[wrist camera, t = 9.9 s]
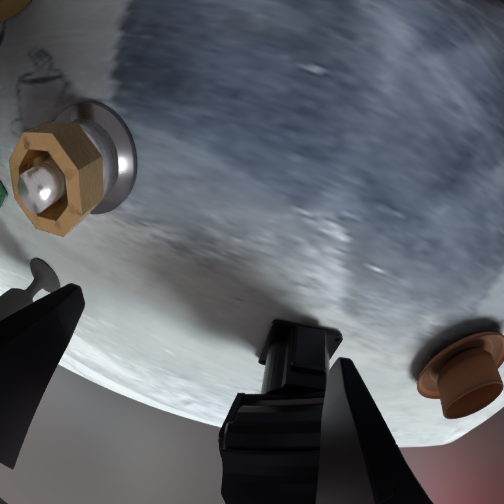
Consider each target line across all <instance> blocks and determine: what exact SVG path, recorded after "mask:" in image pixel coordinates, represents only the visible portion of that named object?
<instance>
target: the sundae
mask: <svg viewBox="0 0 504 504" xmlns="http://www.w3.org/2000/svg"><path fill="white" fill-rule="evenodd" d="M30 268H31V272H32V274H33V277H34V280H33V282H32V283H31V285H30V286H29V287H28V288H27V289H26V290H22V289H18V288H11V289H10V290H8V291H7V292H5V293H4V294H3V295H1V296H0V320H2V319H4V318H5V317H7V316H9V315H11V314H13V313H14V312H16V311H18V310H20V309H22V308H24V307H25V306H27V305H29V304H31V303H33V297H34V296H35V294H36V293H37V292H38V291H39V290H41V289H42V288H43V289H44V290H46V291H48V292H50V293H52V292H54V291H56V290H58V289H59V288H60V283H59V280H58V278H57V276H56V274H55V272H54V271H53V270H52V269H51V267H50V266H49V265H48V264H46V263H45V262H44V261H42V260H39V259H33V260H32V261H31V264H30Z"/></svg>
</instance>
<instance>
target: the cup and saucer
mask: <svg viewBox="0 0 504 504" xmlns="http://www.w3.org/2000/svg"><path fill="white" fill-rule="evenodd" d="M503 362H504V335H502V334H500V333H497V332H480V333H476V334H472V335H469V336H467V337H464V338H462V339H460V340H458V341H456V342H454V343H452V344H451V345H449V346H447V347H446V348H445V349H443V350H442V351H440V352H439V353H438V354H437V355H436V356H434V357H433V358H432V359H431V360H430V361H429V362H428V364H427V365H426V366H425V368H424V369H423V370H422V372H421V373H420V375H419V378H418V381H417V390H418V392H419V393H420V394H421V395H422V396H424V397H426V398H430V399H440V400H441V405H442V410H443V415H444V417H445V418H447V419H457V418H462V417H465V416H468V415H471V414H473V413H475V412H477V411H479V410H481V409H483V408H484V407H486V406H487V405H489V404H490V403H492V402H493V401H494V400H495V399H496V398H497V397H498V396H499V395H500V394H501V392H502V390H503V387H504V386H503V382H502V380H501V377H500V374H499V372H498V368H499V367H500V366H501V365H502V363H503Z"/></svg>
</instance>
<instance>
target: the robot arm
mask: <svg viewBox="0 0 504 504" xmlns="http://www.w3.org/2000/svg"><path fill="white" fill-rule="evenodd" d="M84 307H85V301H84V297H83V293H82V289H81V287H80V286H78V285H76V284H73V283H70V284H67V285H65V286H63V287H61V288H59V289H58V290H56V291H54V292H52V293H50V294H48V295H46V296H44V297H42V298H40V299H38V300H37V301H35V302H33V303H31V304H29V305H27V306H25V307H24V308H22V309H20V310H18V311H16V312H14V313H13V314H11V315H9V316H7V317H5V318H4V319H2V320H0V463H2V464H3V465H5V466H7V467H9V468H11V469H14V467H15V464H16V461H17V458H18V455H19V452H20V449H21V447H22V444H23V442H24V439H25V436H26V434H27V431H28V428H29V426H30V424H31V421H32V419H33V416H34V414H35V412H36V409H37V407H38V405H39V403H40V400H41V398H42V396H43V394H44V392H45V389H46V387H47V385H48V383H49V381H50V379H51V377H52V375H53V373H54V371H55V369H56V367H57V365H58V363H59V361H60V359H61V357H62V355H63V354H64V352H65V350H66V348H67V346H68V344H69V342H70V340H71V338H72V335H73V333H74V330H75V328H76V326H77V323H78V321H79V319H80V316H81V314H82V312H83V310H84ZM276 325H278V326H276ZM342 340H343V338H342V334H341V333H337V332H332V331H327V330H322V329H317V328H313V327H308V326H303V325H299V324H294V323H290V322H285V321H281V320H274V321H273V322H272V324H271V327H270V330H269V332H268V335H267V338H266V340H265V343H264V346H263V348H262V351H261V354H260V356H259V361H258V362H259V363H260V364H262V365H265V372H264V378H263V384H262V390H261V394H245V393H238V394H237V396H236V398H235V400H234V402H233V404H232V406H231V408H230V410H229V413H228V415H227V417H226V419H225V421H224V423H223V425H222V428H221V430H220V432H219V439H218V442H219V451H220V455H221V457H222V462H223V477H222V488H221V495H222V497H223V499H224V501H225V503H226V504H433V502H432V501H431V500H430V499H429V497H428V496H427V494H426V493H425V491H424V489H423V488H422V486H421V485H420V483H419V482H418V480H417V479H416V477H415V476H414V474H413V472H412V471H411V469H410V468H409V466H408V464H407V462H406V461H405V459H404V457H403V455H402V453H401V451H400V449H399V447H398V445H397V444H396V442H395V440H394V438H393V436H392V434H391V432H390V430H389V428H388V426H387V424H386V422H385V421H384V419H383V417H382V415H381V413H380V411H379V409H378V407H377V406H376V404H375V402H374V400H373V398H372V396H371V394H370V392H369V391H368V389H367V387H366V385H365V383H364V381H363V380H362V378H361V376H360V374H359V372H358V371H357V369H356V367H355V365H354V363H353V361H352V360H351V359H349V358H343V357H339V358H338V359H337V360H336V362H335V363H334V364H333V366H332V367H331V369H330V370H329V360H330V359H331V357H332V356H333V354H334V353H335V351H336V349H337V348H338V346H339V345H340V343H341V342H342ZM0 504H7V503H6V502H5V501H4V500H3V499H1V498H0Z"/></svg>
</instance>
